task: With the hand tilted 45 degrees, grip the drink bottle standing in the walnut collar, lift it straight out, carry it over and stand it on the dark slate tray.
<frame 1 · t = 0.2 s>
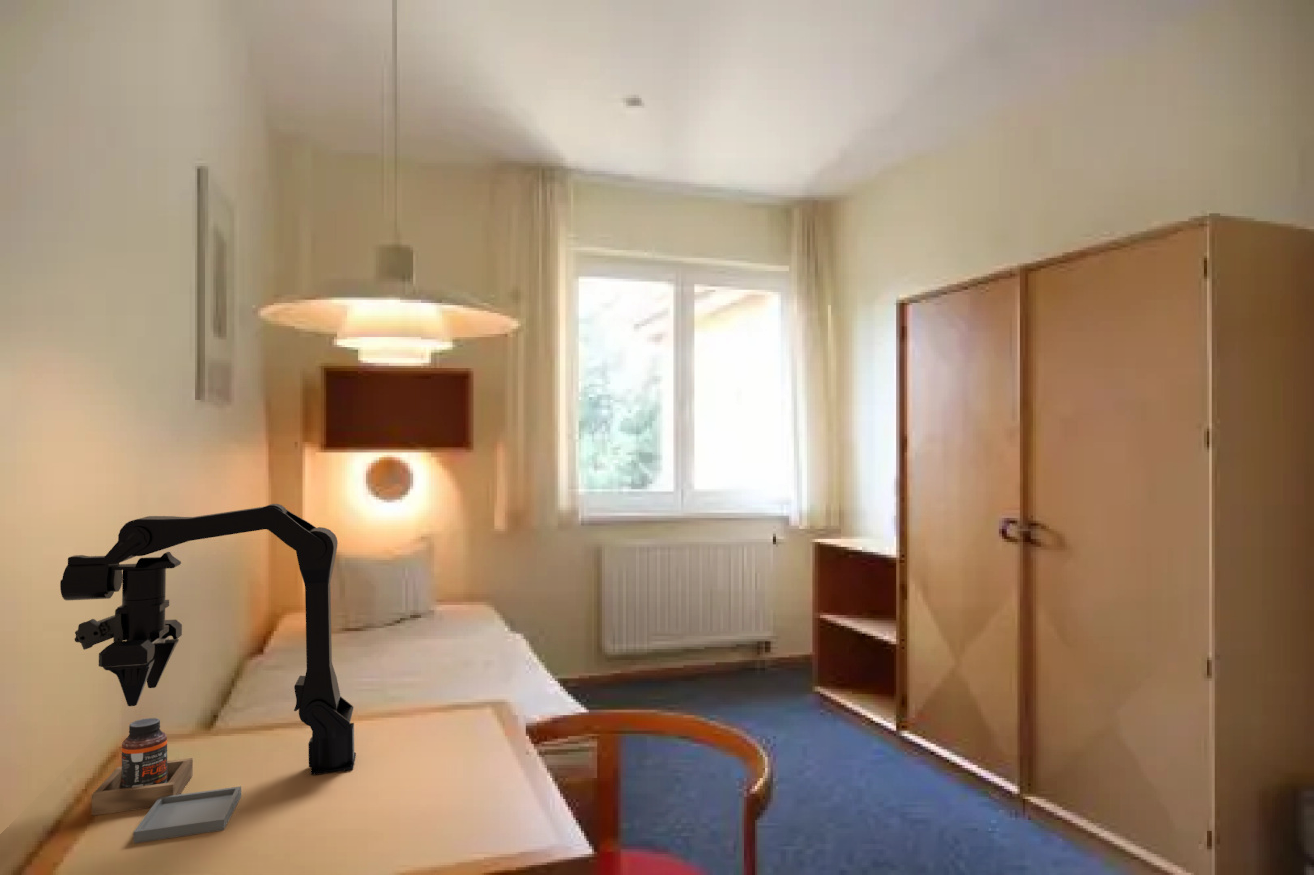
hand: (142, 696, 122), 15 cm above the table, tool pointing down, fingers open, 9 cm apart
slate tray: (190, 818, 112), on the table
supplement bottle: (145, 796, 120), resting in walnut collar
walnut collar: (145, 794, 120), on the table
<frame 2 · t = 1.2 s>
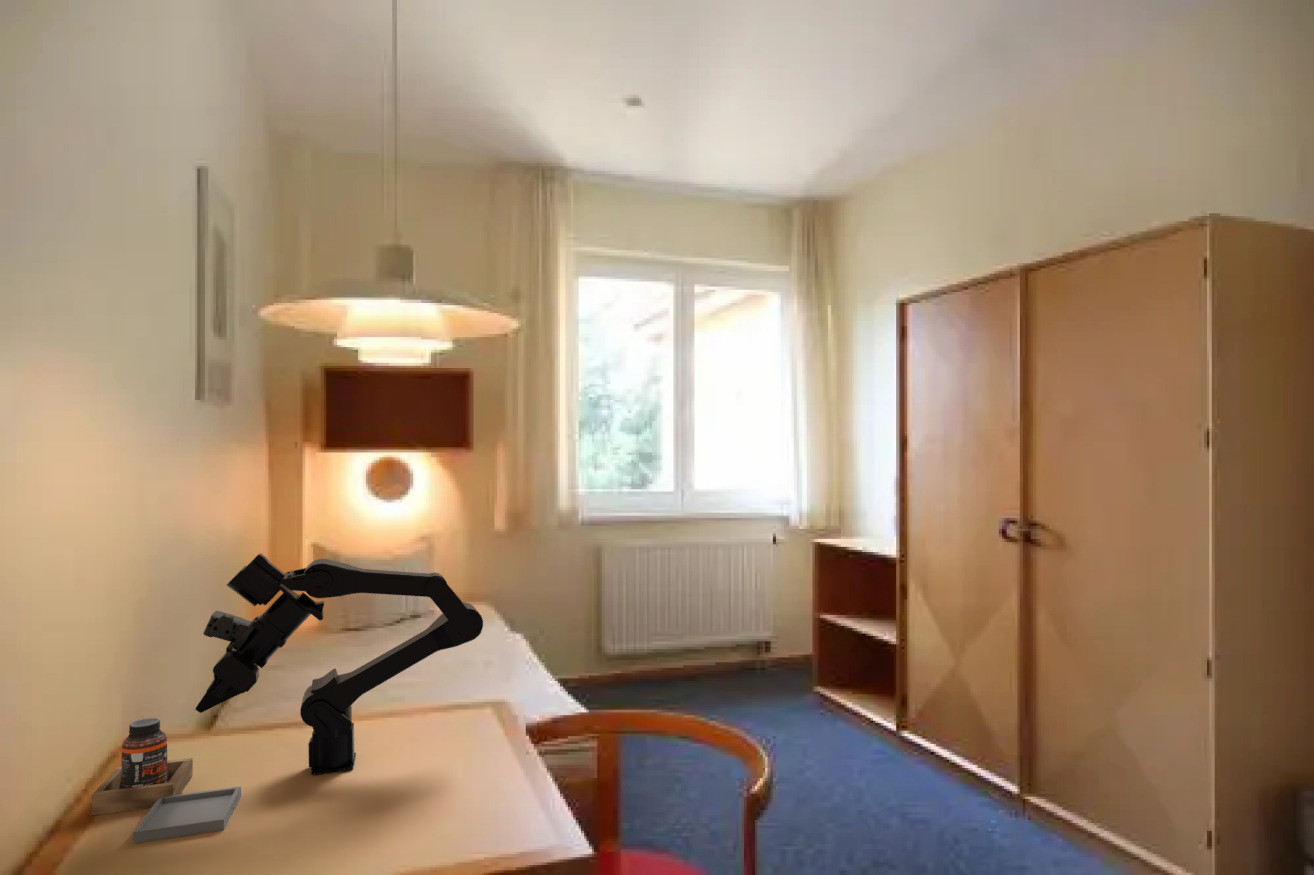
hand: (203, 701, 123), 13 cm above the table, tool tilted 45°, fingers open, 9 cm apart
nothing on the table moved.
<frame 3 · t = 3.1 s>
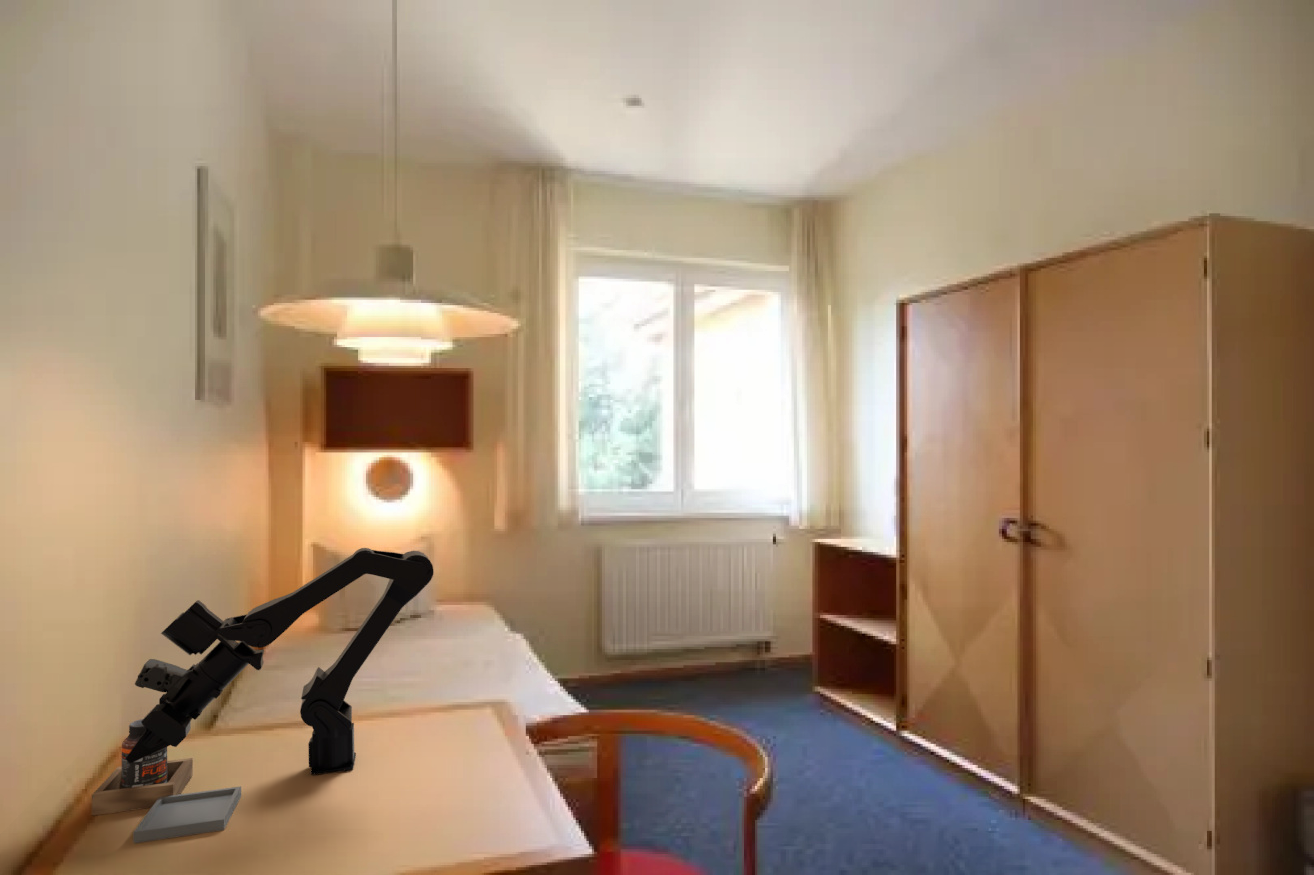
hand: (133, 753, 120), 7 cm above the table, tool tilted 45°, fingers closed on supplement bottle, 6 cm apart
supplement bottle: (145, 796, 120), resting in walnut collar, touching gripper
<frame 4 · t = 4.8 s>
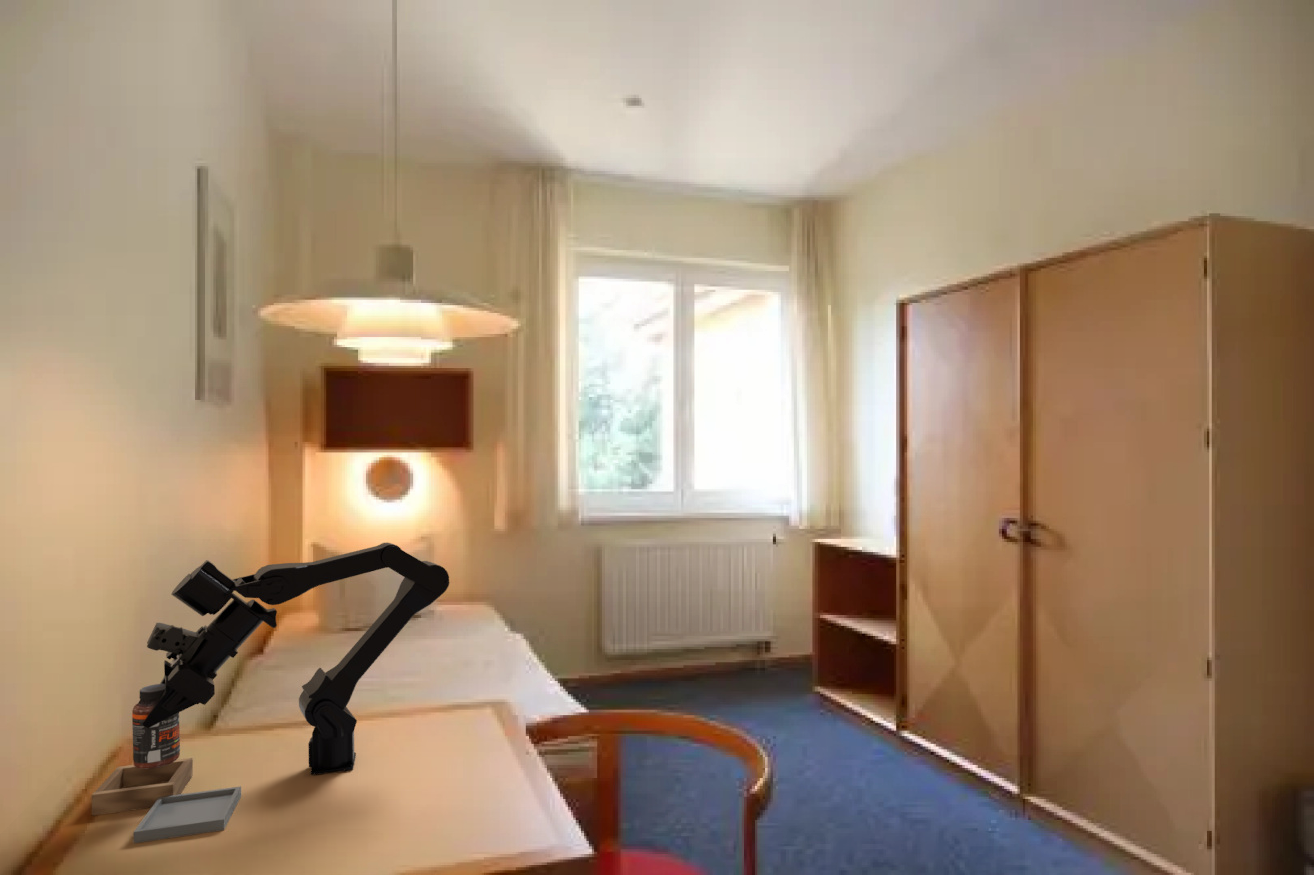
hand: (145, 719, 116), 13 cm above the table, tool tilted 45°, fingers closed on supplement bottle, 6 cm apart
supplement bottle: (157, 763, 116), point 6 cm above the table, touching gripper
when the fingers open (9 cm above the table, at t = 6.6 s): supplement bottle stays where it is, resting on slate tray.
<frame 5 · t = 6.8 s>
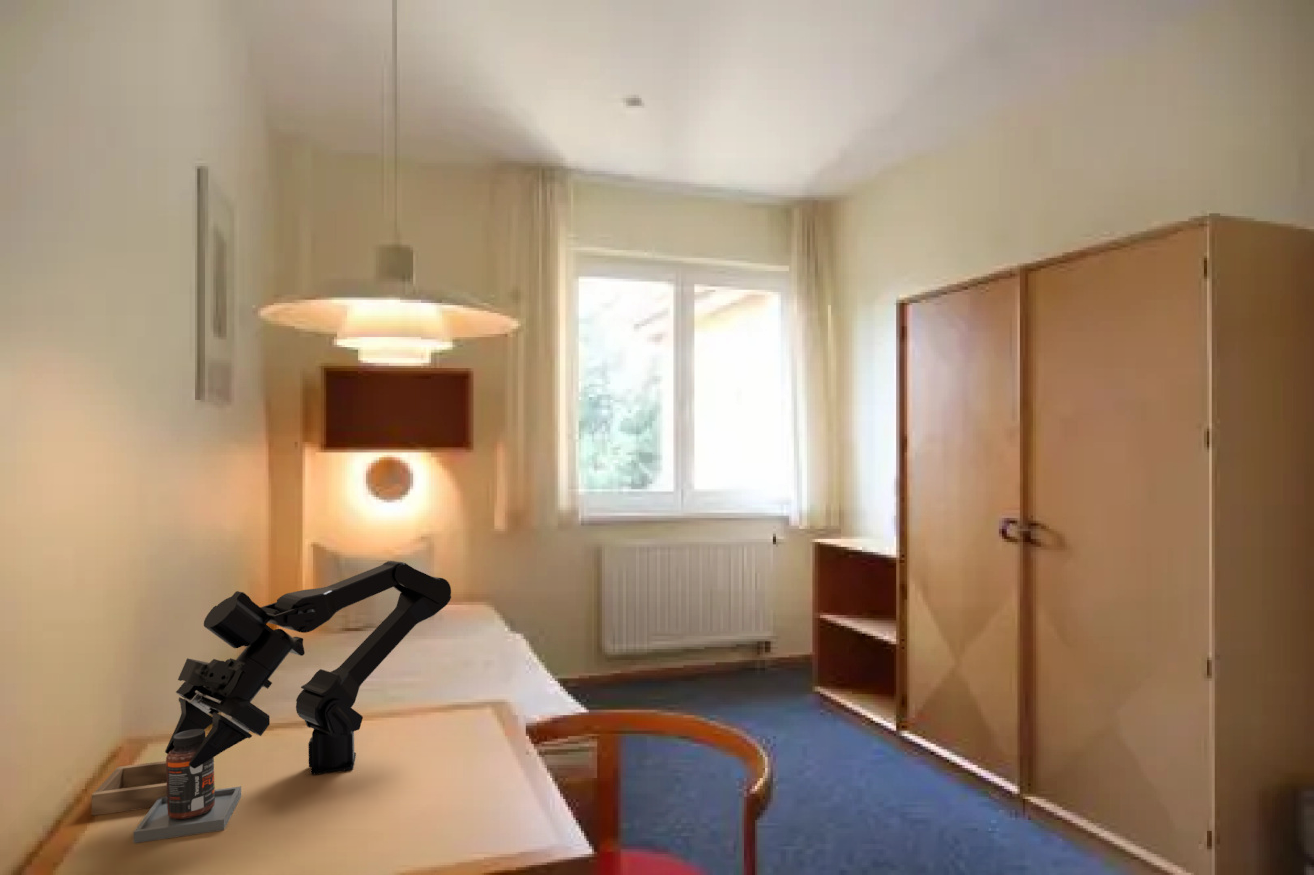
hand: (179, 760, 111), 9 cm above the table, tool tilted 45°, fingers open, 8 cm apart
supplement bottle: (191, 813, 112), point 1 cm above the table, touching slate tray
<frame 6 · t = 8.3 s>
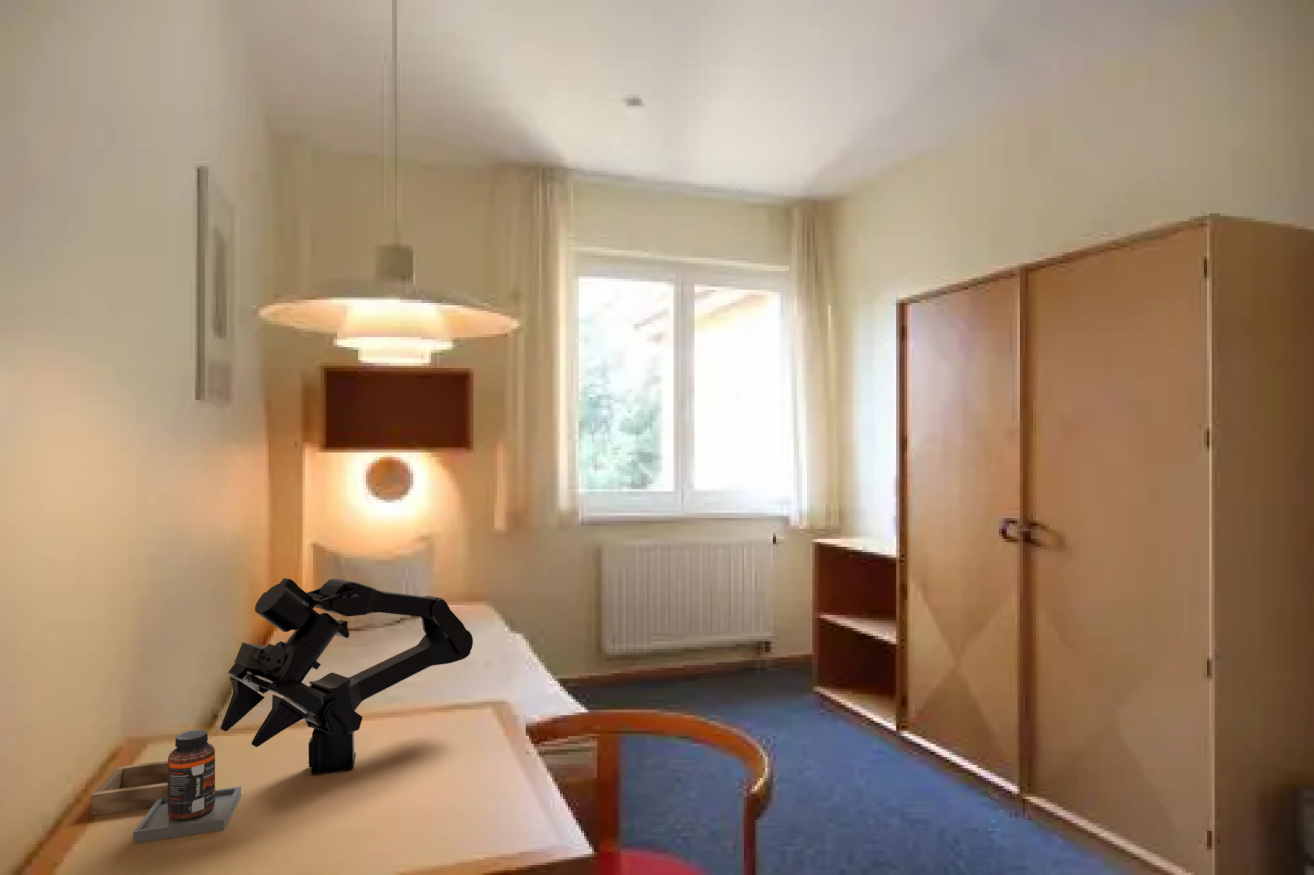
hand: (237, 737, 118), 9 cm above the table, tool tilted 45°, fingers open, 9 cm apart
nothing on the table moved.
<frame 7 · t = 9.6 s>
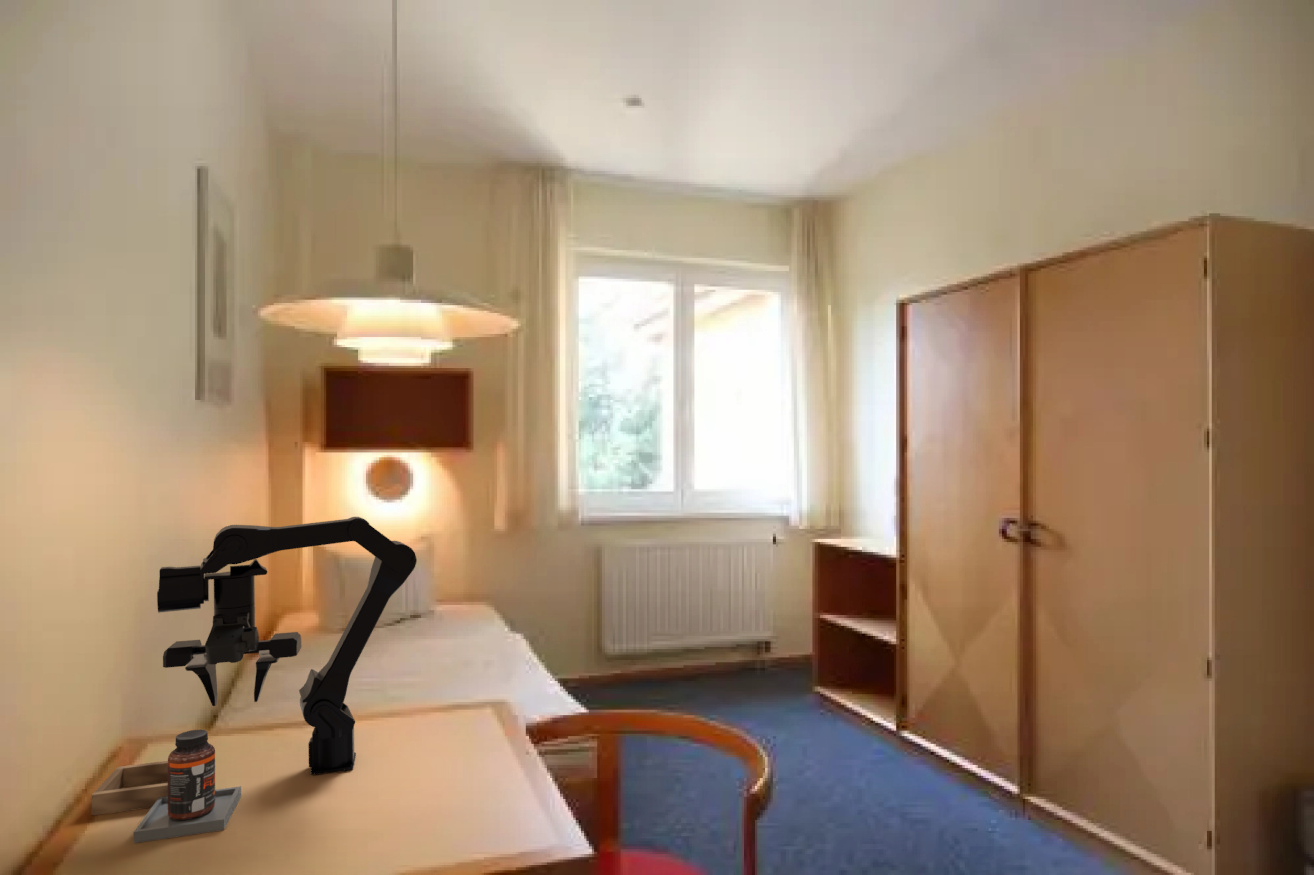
hand: (235, 703, 123), 13 cm above the table, tool pointing down, fingers open, 6 cm apart
nothing on the table moved.
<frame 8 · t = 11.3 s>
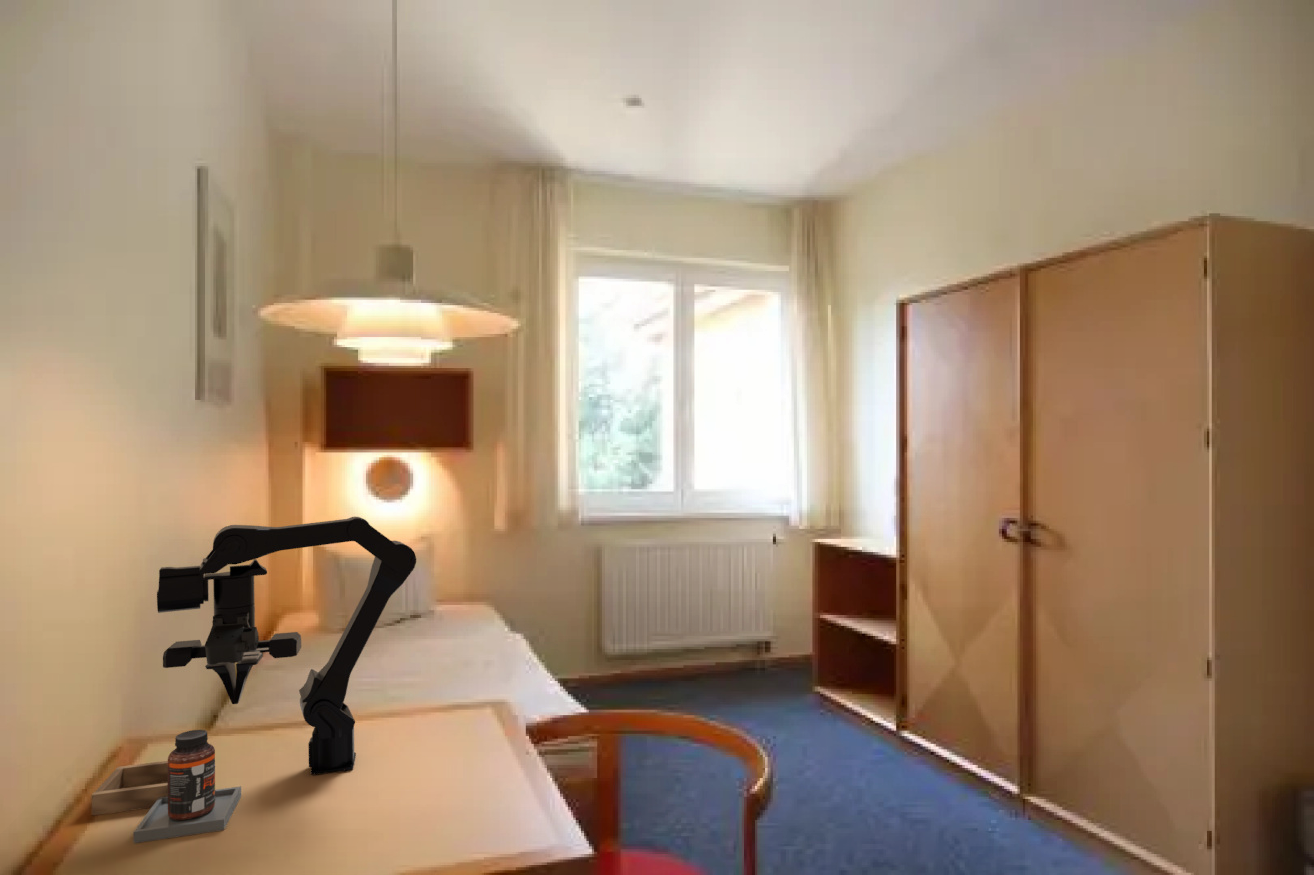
hand: (235, 703, 123), 13 cm above the table, tool pointing down, fingers closed
nothing on the table moved.
at the end: supplement bottle inside the target area on the slate tray (0.2 cm from its centre), point 0.6 cm above the slate tray's base; supplement bottle tilted 0°; the gripper is holding nothing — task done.
